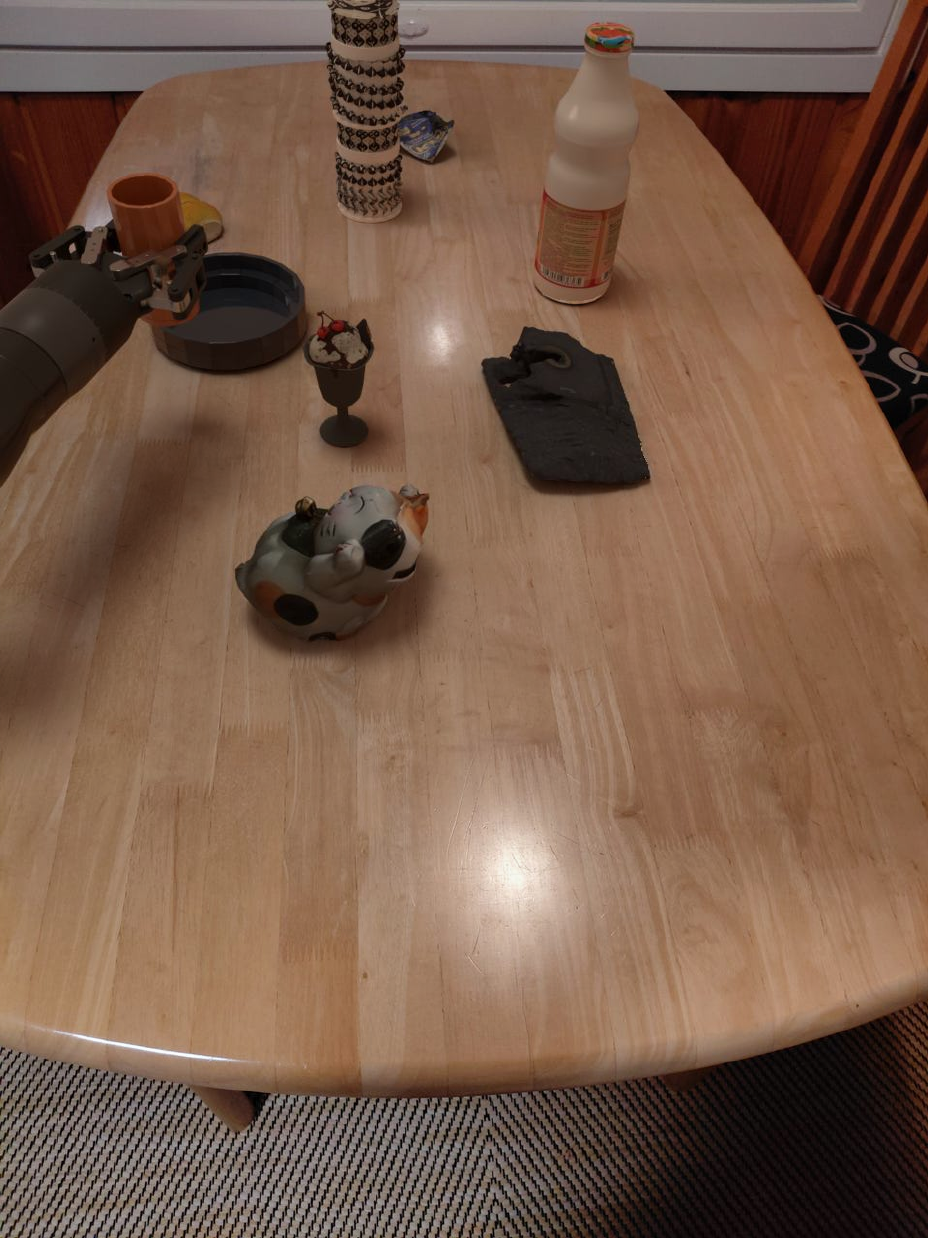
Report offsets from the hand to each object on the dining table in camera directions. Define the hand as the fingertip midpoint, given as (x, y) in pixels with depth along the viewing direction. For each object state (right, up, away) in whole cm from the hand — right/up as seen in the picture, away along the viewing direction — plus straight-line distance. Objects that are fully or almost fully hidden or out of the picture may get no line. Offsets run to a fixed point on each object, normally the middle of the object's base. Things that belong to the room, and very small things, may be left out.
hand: (167, 227), depth 81 cm
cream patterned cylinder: (+13, +20, +42) cm, 49 cm away
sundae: (+13, -15, +15) cm, 25 cm away
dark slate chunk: (+36, -13, +18) cm, 42 cm away
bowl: (-1, -1, +24) cm, 24 cm away
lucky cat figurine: (+15, -31, +2) cm, 35 cm away
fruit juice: (+39, +7, +33) cm, 52 cm away
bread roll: (-9, +15, +36) cm, 40 cm away
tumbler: (-1, -6, +4) cm, 7 cm away
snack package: (+18, +34, +53) cm, 66 cm away
